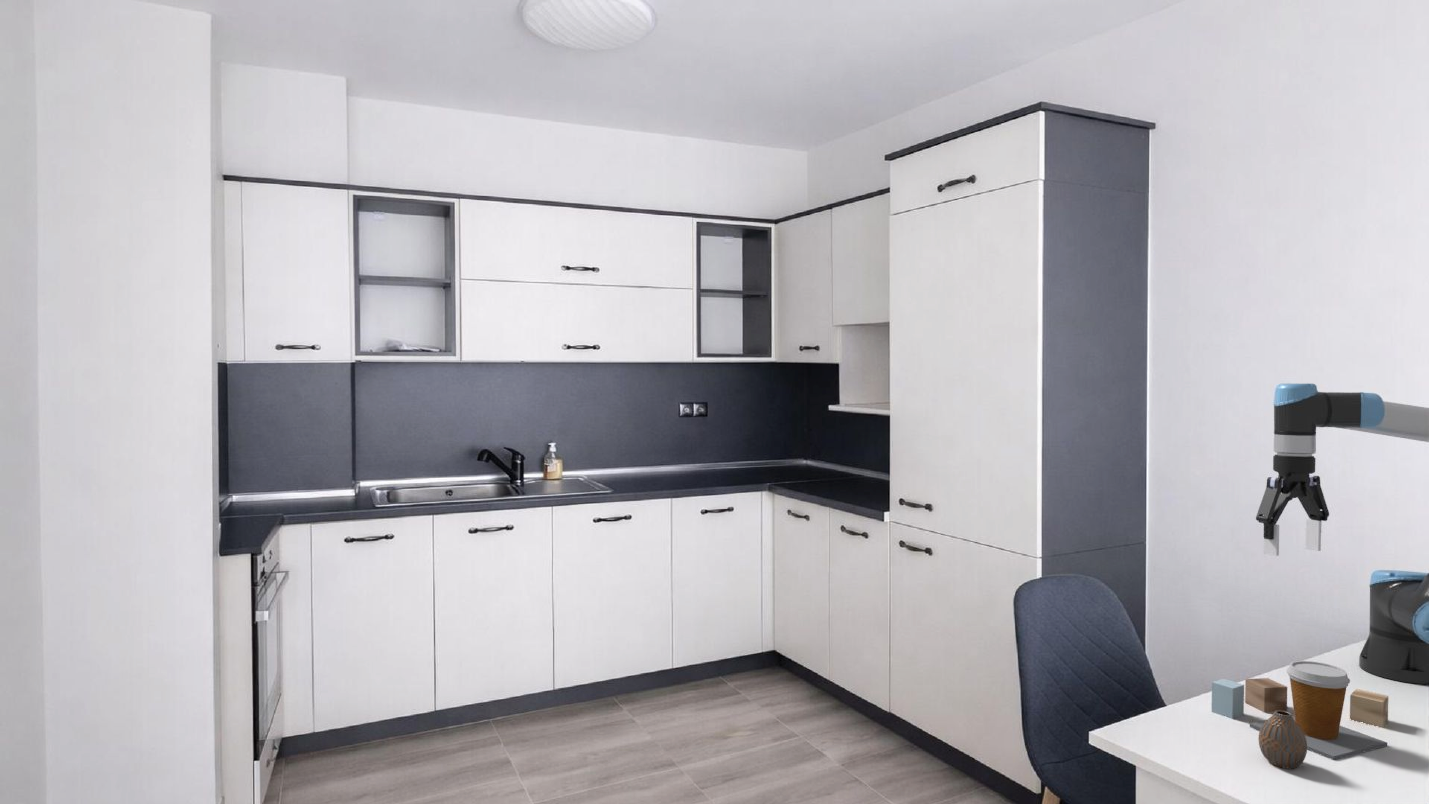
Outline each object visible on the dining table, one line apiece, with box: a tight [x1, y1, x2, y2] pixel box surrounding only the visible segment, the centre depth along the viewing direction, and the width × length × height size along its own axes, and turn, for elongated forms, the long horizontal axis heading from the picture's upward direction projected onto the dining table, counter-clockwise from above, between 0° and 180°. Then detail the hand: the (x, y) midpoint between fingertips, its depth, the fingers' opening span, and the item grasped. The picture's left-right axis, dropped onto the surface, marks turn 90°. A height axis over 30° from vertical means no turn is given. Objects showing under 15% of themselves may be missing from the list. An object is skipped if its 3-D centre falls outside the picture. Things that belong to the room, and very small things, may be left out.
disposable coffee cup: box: [1286, 660, 1351, 740], centre depth 155 cm, size 10×10×12 cm
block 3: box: [1349, 688, 1389, 729], centre depth 162 cm, size 5×5×5 cm
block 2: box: [1244, 677, 1288, 713], centre depth 168 cm, size 5×5×5 cm
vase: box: [1258, 710, 1308, 769], centre depth 144 cm, size 7×7×9 cm
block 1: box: [1210, 678, 1245, 720], centre depth 165 cm, size 4×6×4 cm
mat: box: [1249, 713, 1388, 761], centre depth 155 cm, size 15×15×1 cm
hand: (1292, 552), depth 181 cm, fingers open, 13 cm apart
